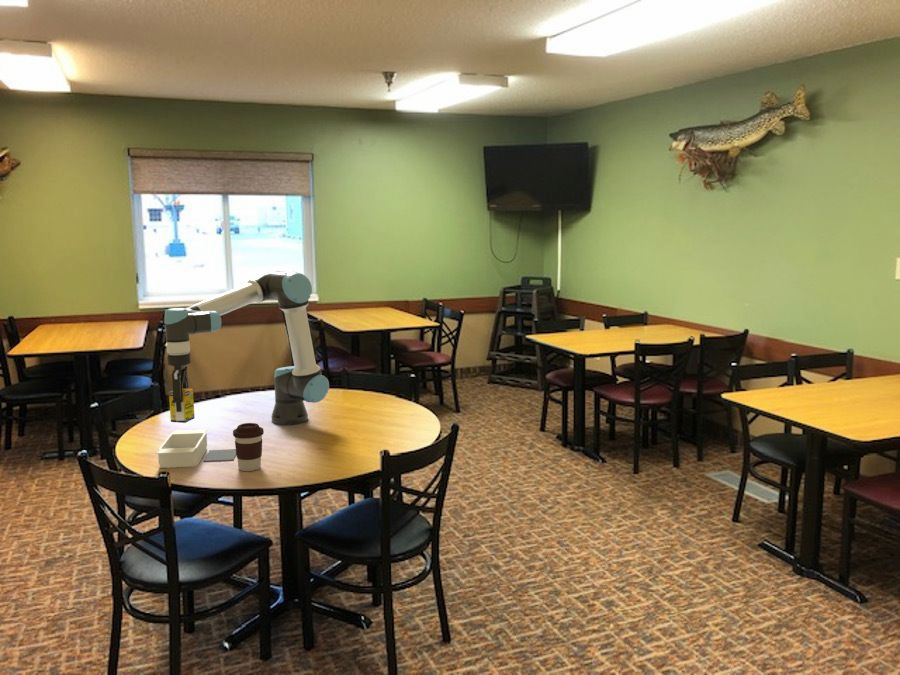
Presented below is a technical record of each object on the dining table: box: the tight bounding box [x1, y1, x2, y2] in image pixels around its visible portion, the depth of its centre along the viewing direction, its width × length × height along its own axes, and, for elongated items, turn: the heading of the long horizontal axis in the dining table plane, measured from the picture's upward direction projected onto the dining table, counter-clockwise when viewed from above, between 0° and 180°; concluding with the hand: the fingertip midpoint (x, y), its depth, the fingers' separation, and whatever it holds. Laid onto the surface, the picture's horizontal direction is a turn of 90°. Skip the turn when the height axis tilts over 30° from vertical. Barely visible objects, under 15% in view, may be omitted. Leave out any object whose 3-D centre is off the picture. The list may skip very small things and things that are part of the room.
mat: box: [203, 448, 237, 463], centre depth 249 cm, size 10×12×1 cm
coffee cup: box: [232, 422, 265, 472], centre depth 235 cm, size 10×10×15 cm
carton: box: [156, 428, 208, 469], centre depth 245 cm, size 13×27×6 cm, turn 10°
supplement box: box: [168, 388, 196, 424], centre depth 243 cm, size 6×6×11 cm
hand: (182, 417), depth 244 cm, fingers closed on supplement box, 7 cm apart
